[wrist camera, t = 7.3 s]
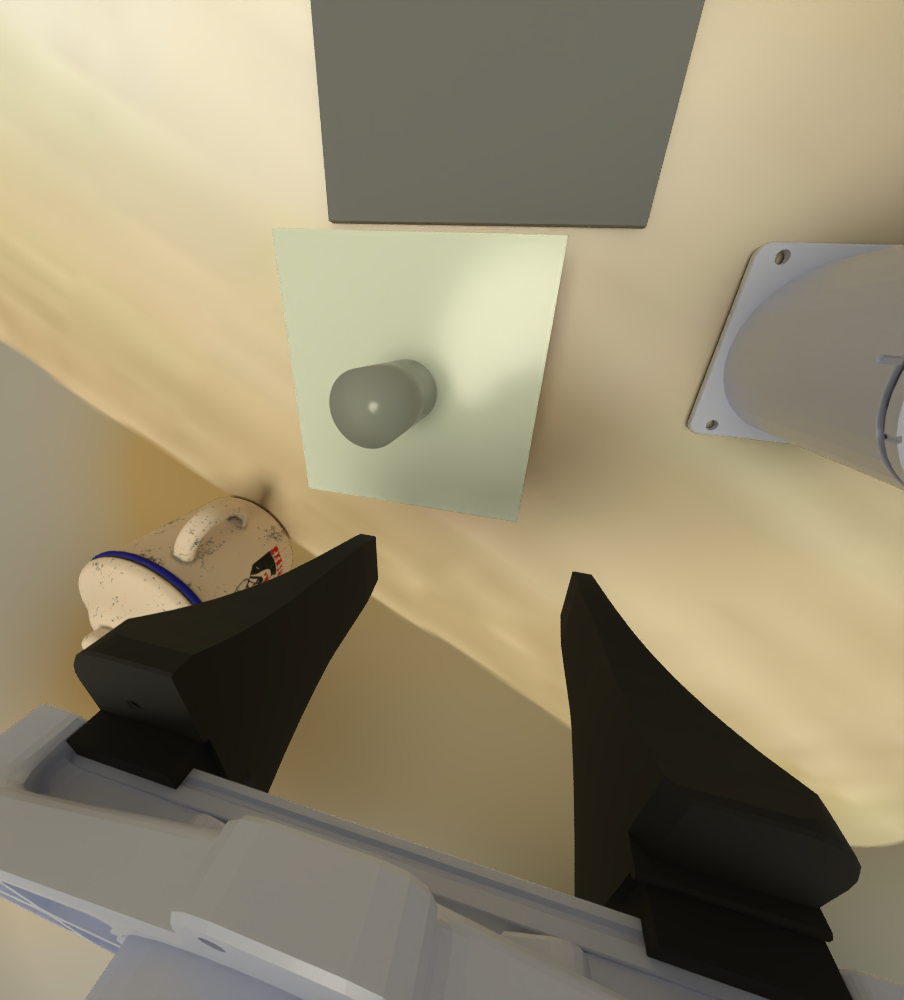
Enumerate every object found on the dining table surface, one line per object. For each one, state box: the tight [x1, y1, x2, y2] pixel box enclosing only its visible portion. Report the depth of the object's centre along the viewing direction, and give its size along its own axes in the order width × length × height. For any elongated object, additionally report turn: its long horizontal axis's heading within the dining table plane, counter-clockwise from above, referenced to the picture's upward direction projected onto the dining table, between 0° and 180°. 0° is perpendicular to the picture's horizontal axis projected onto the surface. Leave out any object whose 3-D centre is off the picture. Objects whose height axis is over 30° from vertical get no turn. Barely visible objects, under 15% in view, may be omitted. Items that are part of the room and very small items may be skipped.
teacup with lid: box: [79, 497, 293, 649], centre depth 23 cm, size 12×9×12 cm
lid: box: [272, 228, 568, 522], centre depth 14 cm, size 12×12×5 cm
